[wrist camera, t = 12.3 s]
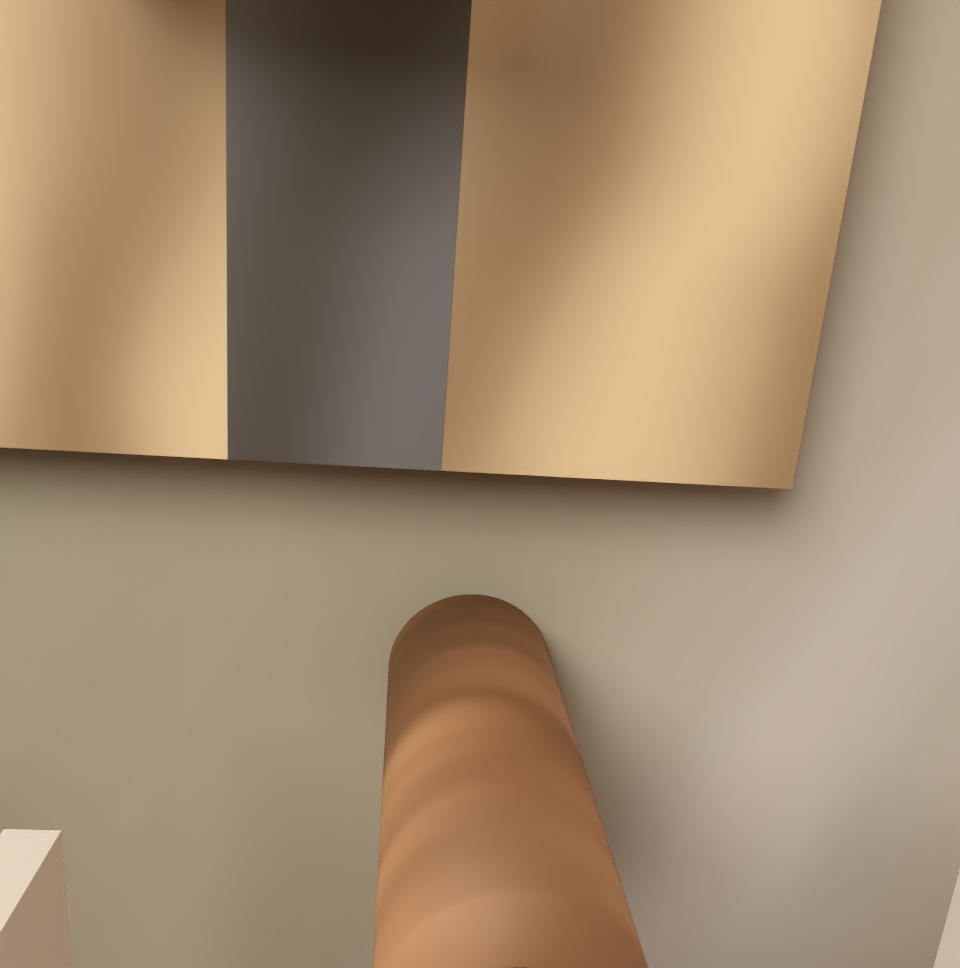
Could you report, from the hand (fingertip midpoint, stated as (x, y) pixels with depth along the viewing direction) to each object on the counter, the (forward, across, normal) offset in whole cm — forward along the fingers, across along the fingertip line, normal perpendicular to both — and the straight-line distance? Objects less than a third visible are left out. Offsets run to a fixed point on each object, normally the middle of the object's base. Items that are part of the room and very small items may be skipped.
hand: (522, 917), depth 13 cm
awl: (+7, 0, 0) cm, 7 cm away
